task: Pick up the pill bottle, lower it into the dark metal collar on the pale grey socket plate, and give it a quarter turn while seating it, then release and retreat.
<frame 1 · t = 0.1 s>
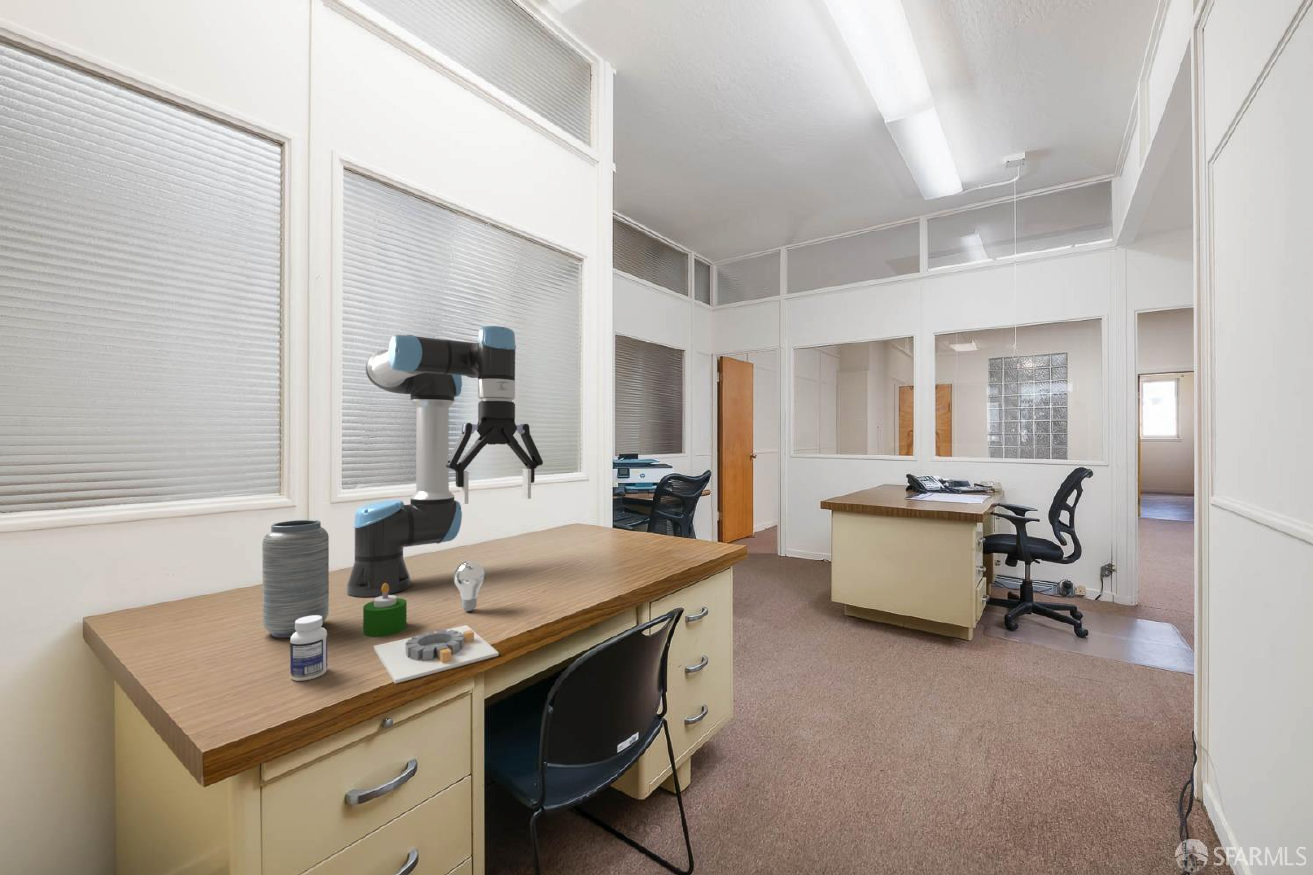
hand: (496, 500, 111), 28 cm above the table, fingers open, 13 cm apart
vase: (296, 631, 111), on the table
socket: (435, 652, 100), on the table
pill bottle: (309, 675, 91), on the table
light bulb: (469, 612, 123), on the table
candle: (385, 630, 112), on the table
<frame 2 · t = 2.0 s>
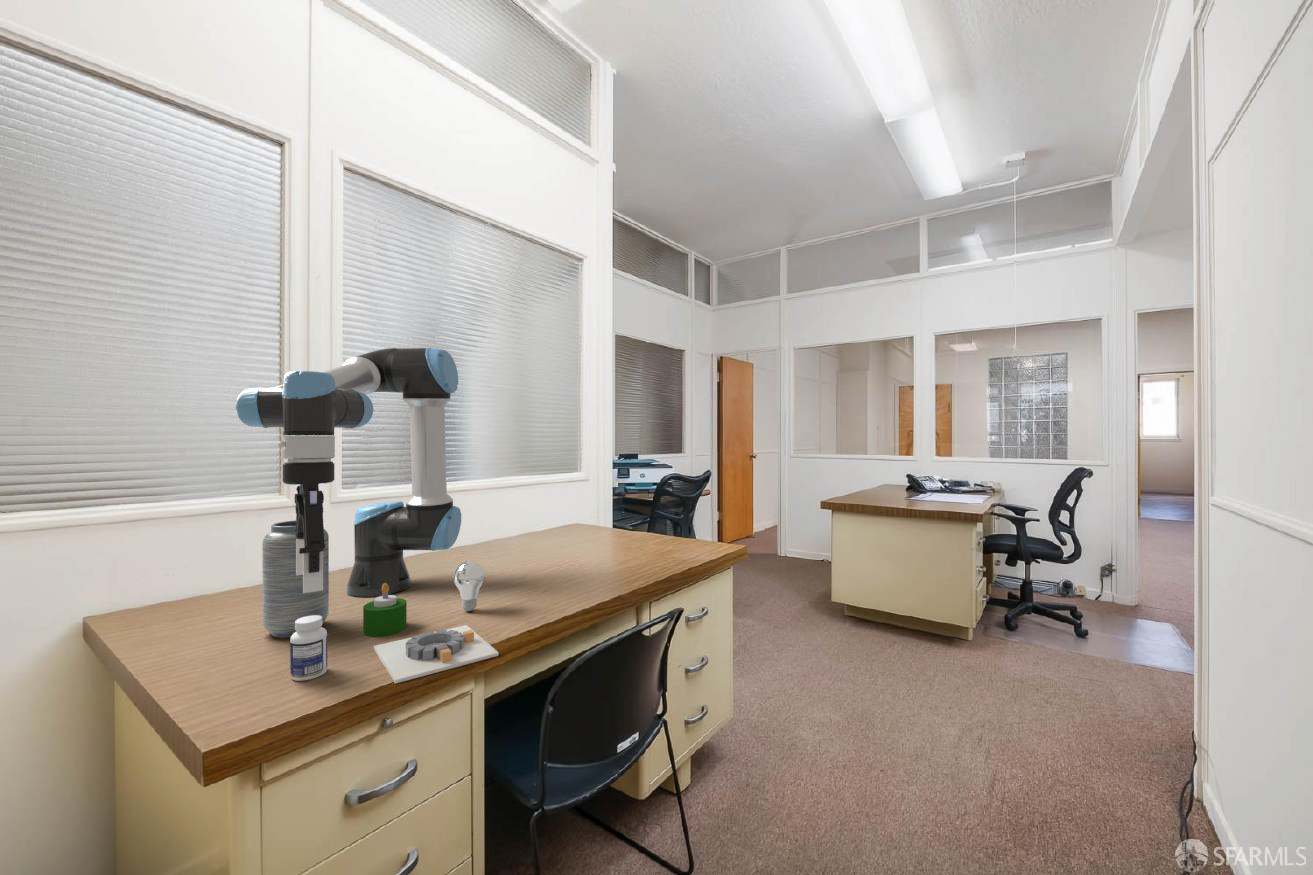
hand: (308, 582, 91), 16 cm above the table, fingers open, 13 cm apart
nothing on the table moved.
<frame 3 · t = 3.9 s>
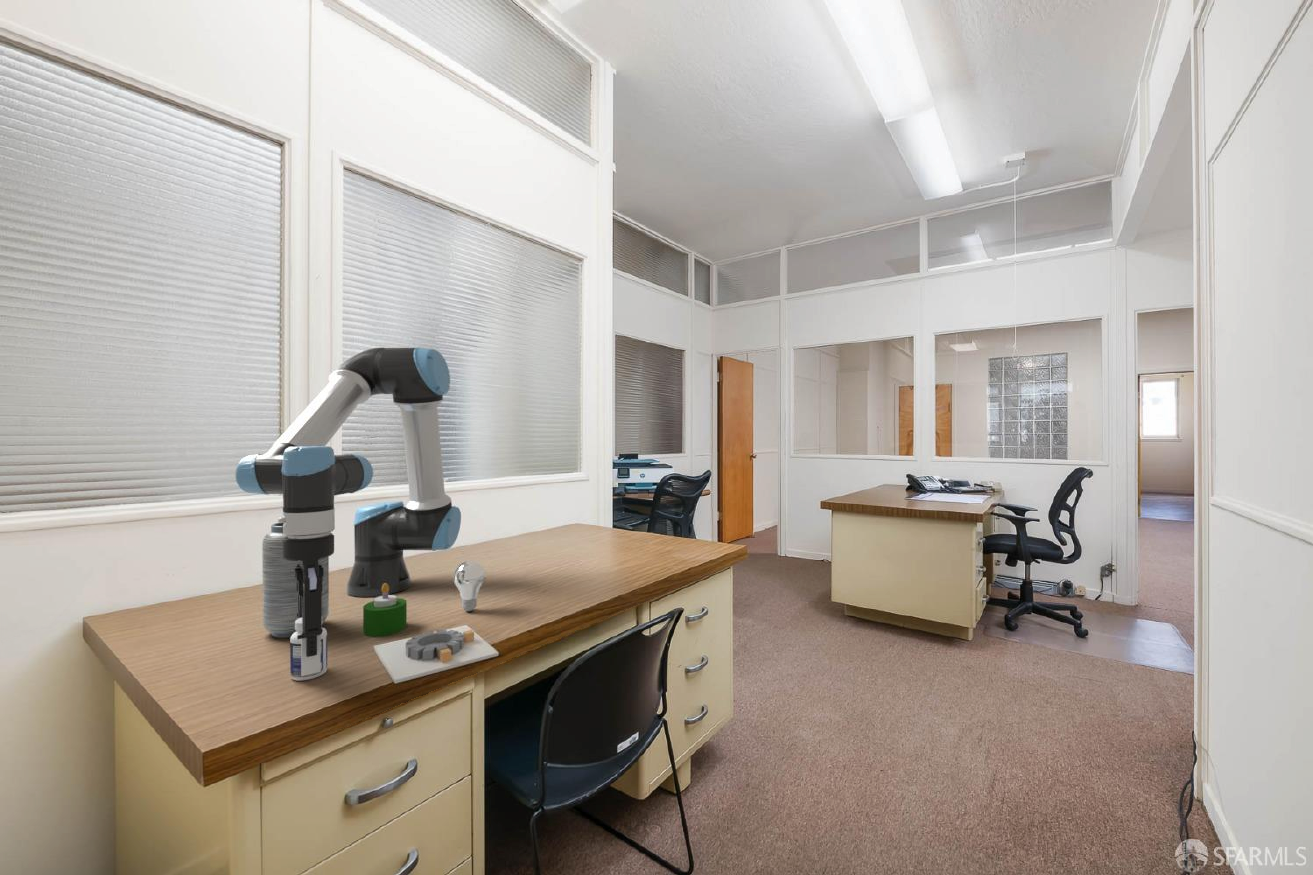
hand: (309, 666, 91), 1 cm above the table, fingers closed on pill bottle, 5 cm apart
pill bottle: (309, 675, 91), on the table, touching gripper
everything else where it was.
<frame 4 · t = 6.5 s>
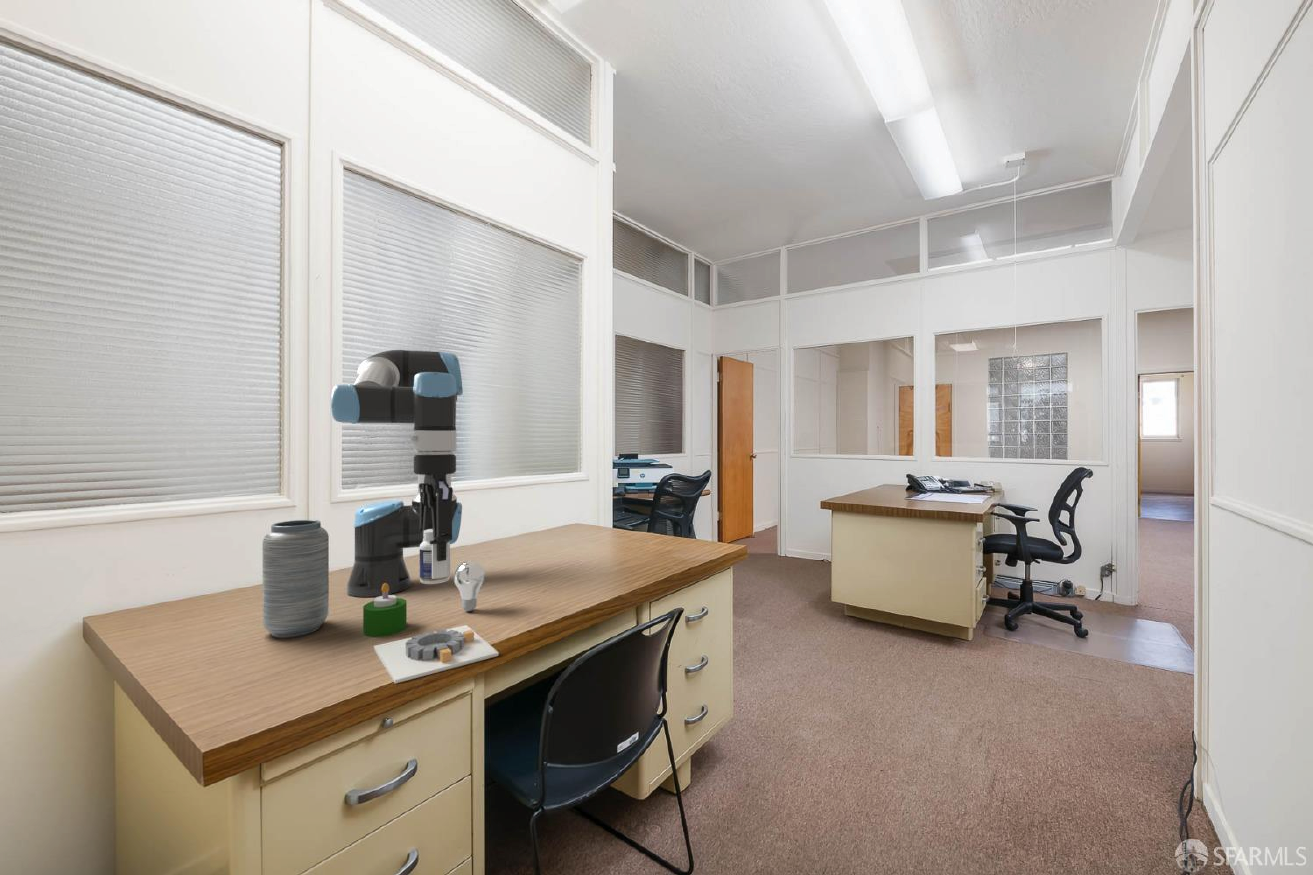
hand: (435, 573, 100), 15 cm above the table, fingers closed on pill bottle, 5 cm apart
pill bottle: (434, 581, 100), point 14 cm above the table, touching gripper
everything else where it was.
when the fingers open (3 cm above the table, at t = 9.2 s): pill bottle stays where it is, resting on socket.
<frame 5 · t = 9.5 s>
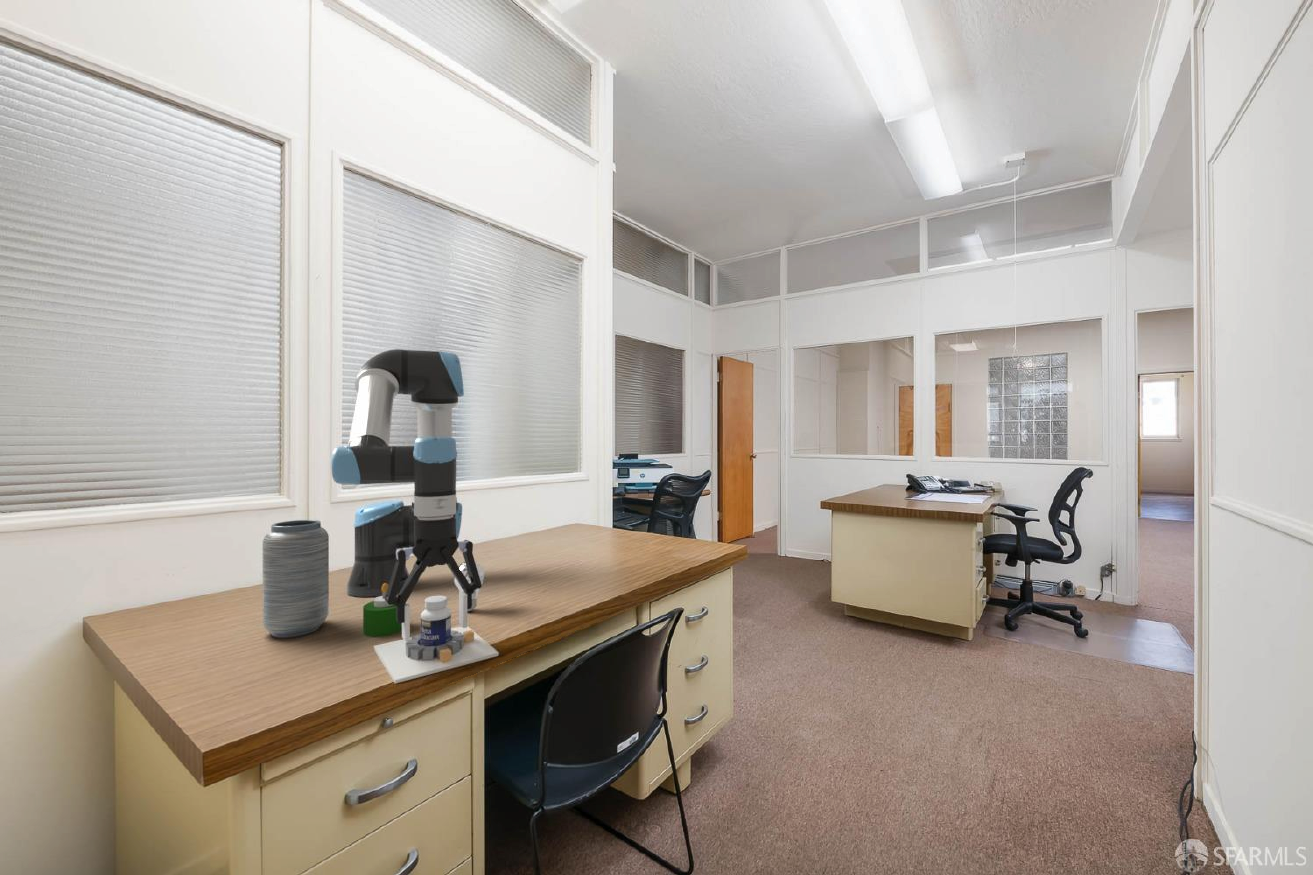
hand: (435, 632, 100), 4 cm above the table, fingers open, 10 cm apart
pill bottle: (435, 649, 101), resting on socket
everything else where it was.
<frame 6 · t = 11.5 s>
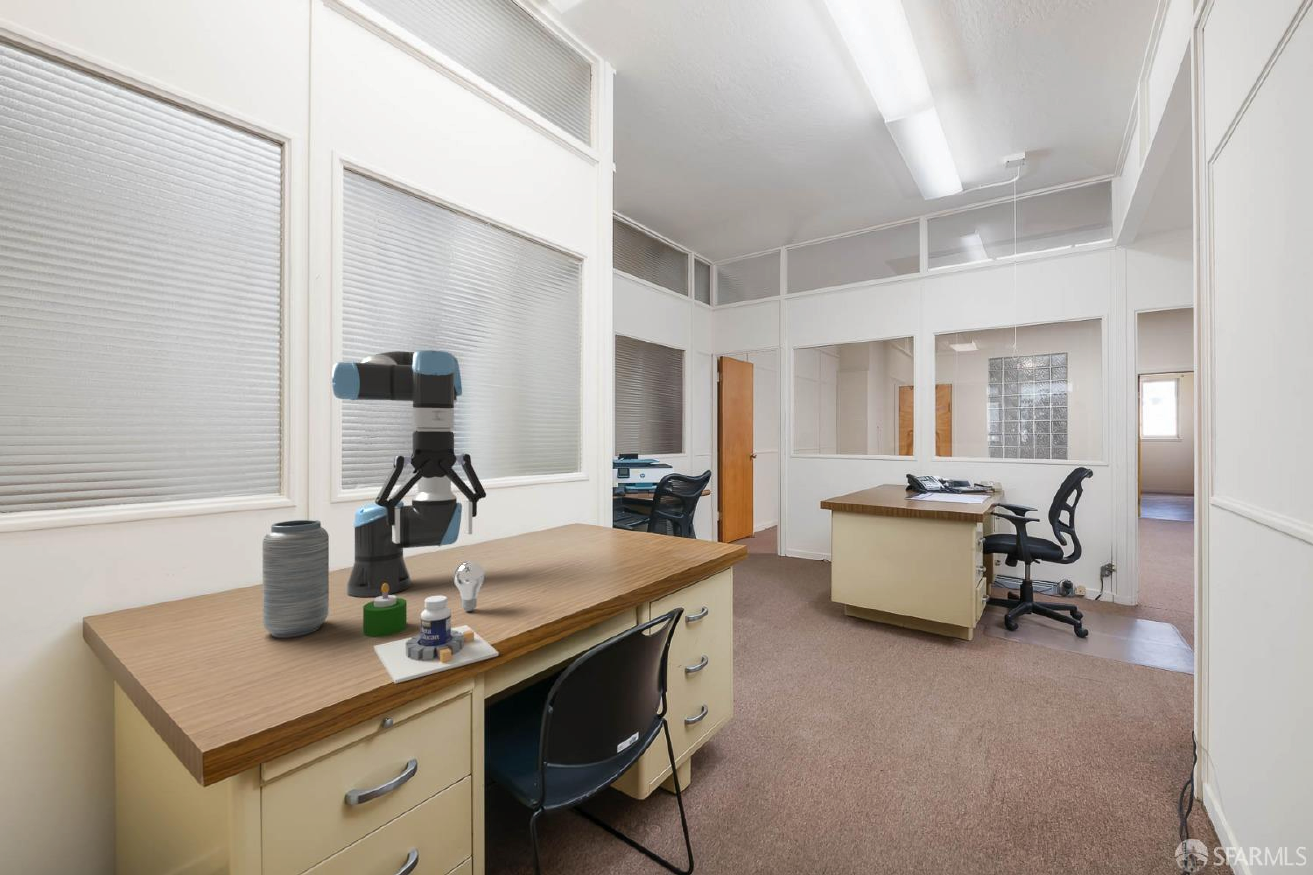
hand: (433, 537, 103), 22 cm above the table, fingers open, 13 cm apart
nothing on the table moved.
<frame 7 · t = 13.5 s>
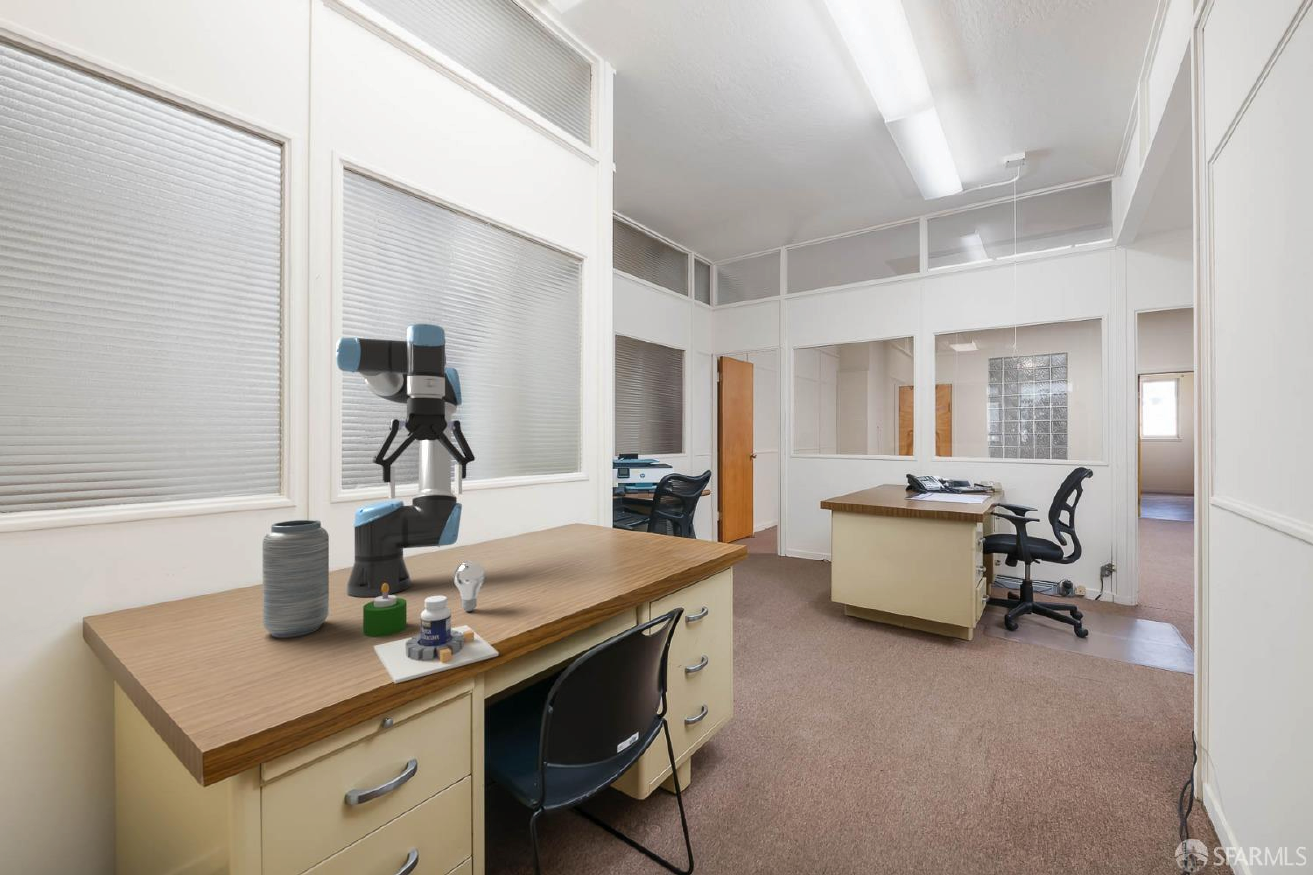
hand: (426, 495, 112), 29 cm above the table, fingers open, 13 cm apart
nothing on the table moved.
at the end: pill bottle 0.1 cm off-centre on the socket, point 0.4 cm above the socket's base; pill bottle tilted 0°; the gripper is holding nothing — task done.
